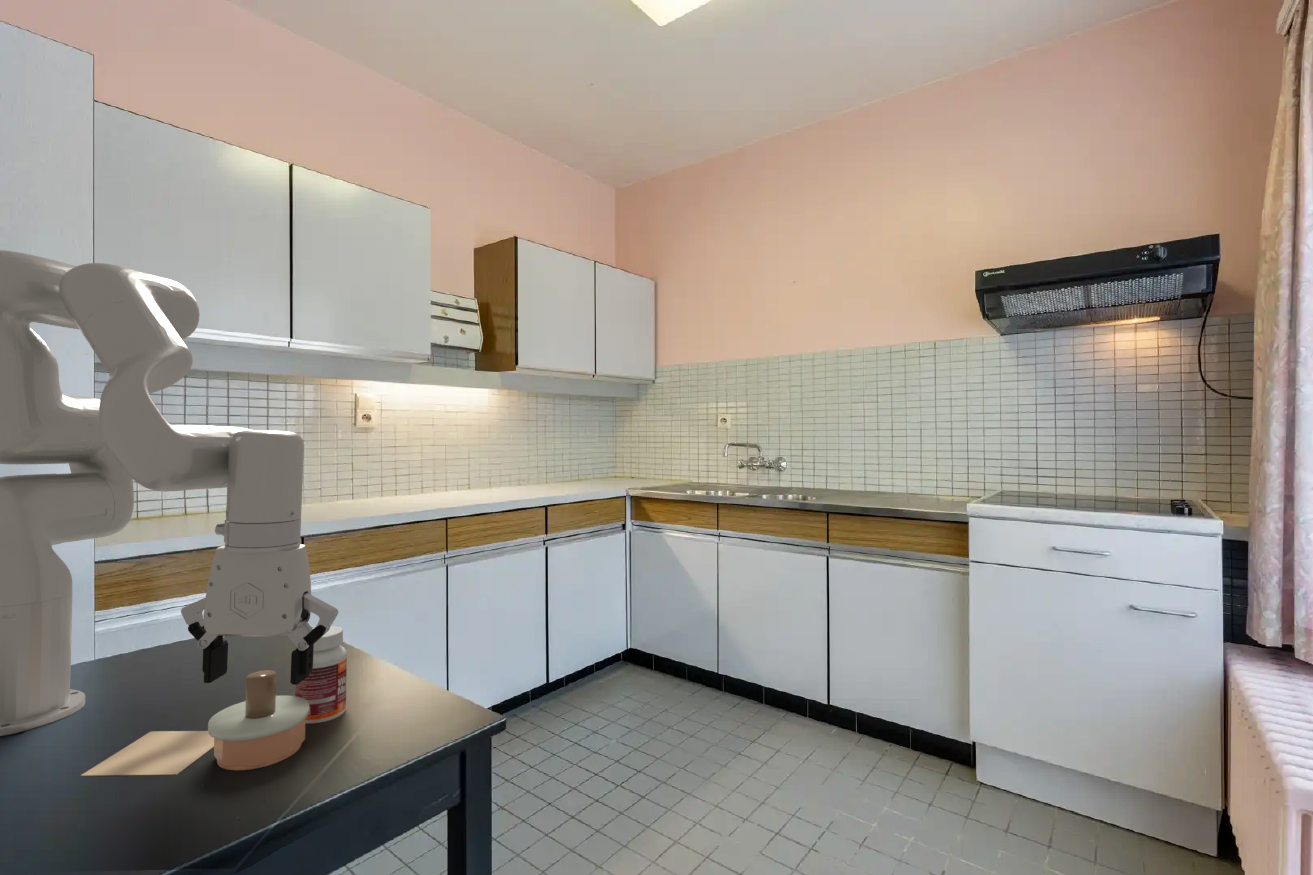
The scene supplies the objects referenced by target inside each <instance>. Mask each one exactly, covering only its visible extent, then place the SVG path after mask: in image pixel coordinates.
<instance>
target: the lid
mask: <svg viewBox="0 0 1313 875" xmlns="http://www.w3.org/2000/svg"><path fill="white" fill-rule="evenodd" d="M308 714H309V702H308V701H307V700H306V699H304V698H301V697H297V696H294V695H277V672H276V670H271V669H270V670H269V669H267V670H266V669H265V670H259V671H255V672H254V671H253V672H251V673H249V674H248V675H246V677H245V700H244V701H241V702H239V703H235V704H232V705H230V706H228V707H225V708H224V709H221V710H220V711H218V712H216V713H215V714H213V716H211V717H210V718H209V721H208V722H207V731H208V733H209V735H210V736H211V737H213V738H216V739H219V740H227V741H241V740H250V739H256V738H261V737H266V736H270V735H273V734H276V733H279V732H282V731H285V730H287V729H290V728H292V727H294V726H296V725H297V724H299V723H300V722H302V721H303V720H304V719H305V718H306V717H307V716H308Z"/></svg>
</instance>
